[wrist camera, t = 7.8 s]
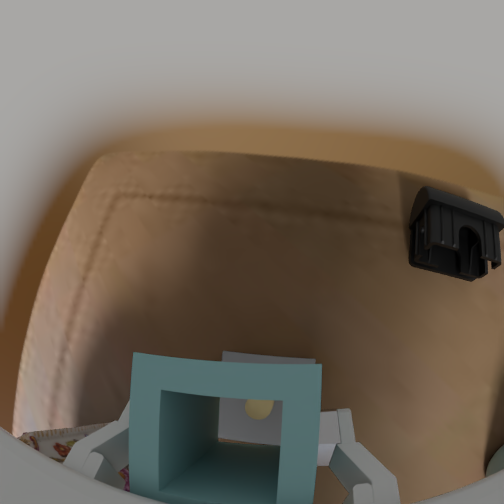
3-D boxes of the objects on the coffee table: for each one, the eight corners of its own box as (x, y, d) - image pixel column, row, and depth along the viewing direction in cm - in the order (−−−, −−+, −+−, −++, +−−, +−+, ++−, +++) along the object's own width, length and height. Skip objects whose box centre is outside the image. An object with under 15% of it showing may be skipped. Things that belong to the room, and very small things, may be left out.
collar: (299, 462, 12) (308, 532, 5) (199, 454, 13) (130, 506, 6) (304, 368, 14) (322, 363, 7) (204, 364, 15) (133, 351, 8)
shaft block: (304, 442, 22) (309, 463, 16) (217, 432, 23) (195, 449, 17) (313, 359, 25) (322, 355, 19) (227, 352, 26) (208, 345, 20)
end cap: (474, 229, 28) (502, 201, 22) (476, 283, 26) (510, 261, 19) (407, 208, 30) (428, 173, 24) (403, 264, 28) (429, 236, 22)
